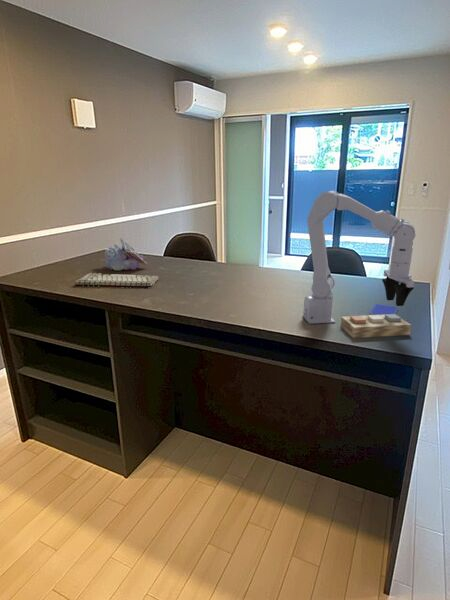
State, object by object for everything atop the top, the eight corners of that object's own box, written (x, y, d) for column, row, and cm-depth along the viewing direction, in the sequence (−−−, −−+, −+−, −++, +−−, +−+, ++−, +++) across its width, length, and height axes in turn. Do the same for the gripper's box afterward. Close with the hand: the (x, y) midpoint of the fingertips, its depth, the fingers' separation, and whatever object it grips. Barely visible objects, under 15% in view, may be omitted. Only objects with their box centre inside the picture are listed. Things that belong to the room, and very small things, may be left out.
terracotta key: (354, 325, 124) (355, 320, 124) (350, 321, 128) (350, 316, 127) (365, 325, 125) (366, 319, 124) (360, 321, 128) (360, 315, 127)
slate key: (389, 324, 126) (390, 318, 125) (384, 320, 129) (384, 314, 128) (400, 323, 126) (401, 317, 125) (394, 319, 129) (395, 314, 129)
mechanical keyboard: (161, 279, 193) (160, 272, 192) (152, 290, 175) (151, 283, 174) (87, 278, 196) (86, 272, 194) (71, 289, 177) (70, 282, 176)
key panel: (353, 337, 122) (354, 327, 121) (340, 326, 131) (341, 316, 130) (409, 334, 124) (411, 324, 123) (392, 323, 134) (394, 314, 132)
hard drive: (393, 317, 137) (398, 307, 147) (369, 313, 141) (375, 303, 151) (392, 321, 137) (397, 311, 147) (368, 317, 141) (375, 307, 151)
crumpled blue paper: (101, 257, 219) (99, 232, 206) (138, 252, 228) (139, 228, 215) (109, 282, 207) (108, 258, 195) (148, 276, 216) (150, 252, 203)
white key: (372, 325, 125) (373, 319, 124) (367, 321, 128) (367, 315, 128) (382, 324, 125) (383, 318, 125) (377, 320, 129) (378, 314, 128)
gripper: (426, 266, 115) (419, 309, 119) (399, 256, 129) (394, 295, 133) (404, 267, 114) (398, 310, 118) (379, 257, 128) (375, 296, 132)
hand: (394, 302), depth 125 cm, fingers open, 5 cm apart
